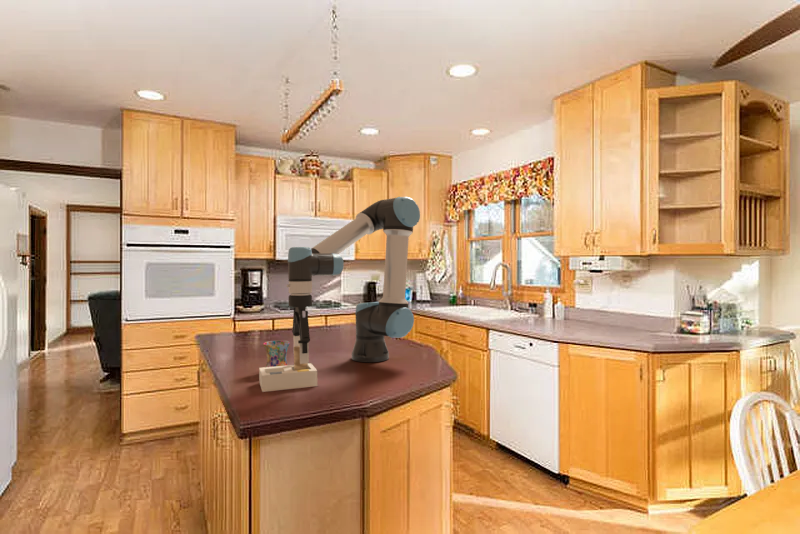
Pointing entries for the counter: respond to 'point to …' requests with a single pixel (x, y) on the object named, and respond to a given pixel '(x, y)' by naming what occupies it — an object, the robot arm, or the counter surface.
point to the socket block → (286, 377)
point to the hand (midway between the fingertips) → (300, 359)
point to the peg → (298, 360)
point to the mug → (276, 353)
